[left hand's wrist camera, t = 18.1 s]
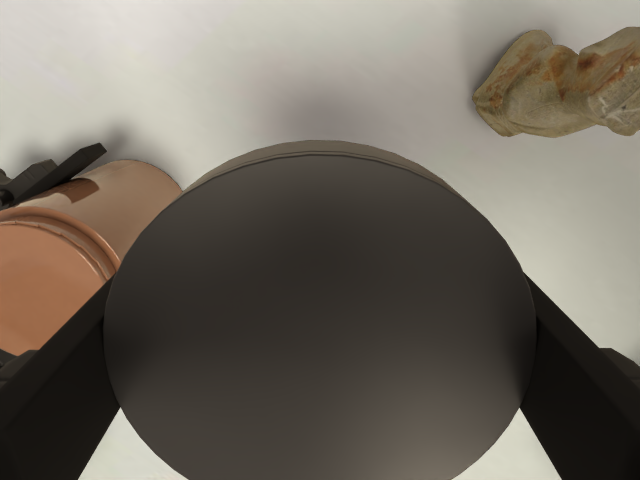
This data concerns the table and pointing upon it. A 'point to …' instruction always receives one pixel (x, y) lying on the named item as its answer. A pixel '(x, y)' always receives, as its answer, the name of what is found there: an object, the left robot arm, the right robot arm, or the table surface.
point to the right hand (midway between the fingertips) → (145, 210)
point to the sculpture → (564, 87)
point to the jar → (71, 245)
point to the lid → (319, 322)
